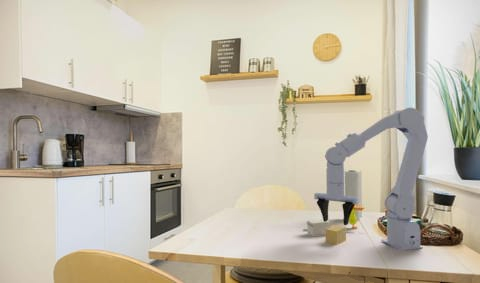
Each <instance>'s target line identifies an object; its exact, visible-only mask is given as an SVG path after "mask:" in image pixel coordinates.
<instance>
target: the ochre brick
mask: <svg viewBox="0 0 480 283" xmlns="http://www.w3.org/2000/svg"><path fill="white" fill-rule="evenodd" d="M325 231H326V235H325V243H326V244H332V245H336V246H337V245H340V244H341V243H343V242H346V241H347V233H346V232H347V227H346V226H345V225H344V226H343V225H337V224H333V225H332V226H331V225H330V227H329V228H327V229H325Z"/></svg>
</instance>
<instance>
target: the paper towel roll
mask: <svg viewBox="0 0 480 283" xmlns="http://www.w3.org/2000/svg"><path fill="white" fill-rule="evenodd" d="M362 194H363V193H362V170H359V171H358V170H344V195H346V196H352V197H358V204H356V206H359V207H363V206H362V204H363V203H362V202H363V201H362V197H363V196H362ZM362 211H363V210H355V216H356V217H357V221H358V220H360V219H361V218H362V217H363V216H362V213H363V212H362ZM350 215H351V214H350Z"/></svg>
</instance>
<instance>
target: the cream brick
mask: <svg viewBox="0 0 480 283" xmlns="http://www.w3.org/2000/svg"><path fill="white" fill-rule="evenodd" d="M306 225H307V228H306V229H307V232H306V233H307V235H309V236H312V237H319V236H320V237H322V236H326V231H325V229H327V228H329V227H331V221H329V220H328V221H326V222H324V221H323V218H322V219H319V218H318V219H313V220H311V219H310V220H307V221H306Z"/></svg>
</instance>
